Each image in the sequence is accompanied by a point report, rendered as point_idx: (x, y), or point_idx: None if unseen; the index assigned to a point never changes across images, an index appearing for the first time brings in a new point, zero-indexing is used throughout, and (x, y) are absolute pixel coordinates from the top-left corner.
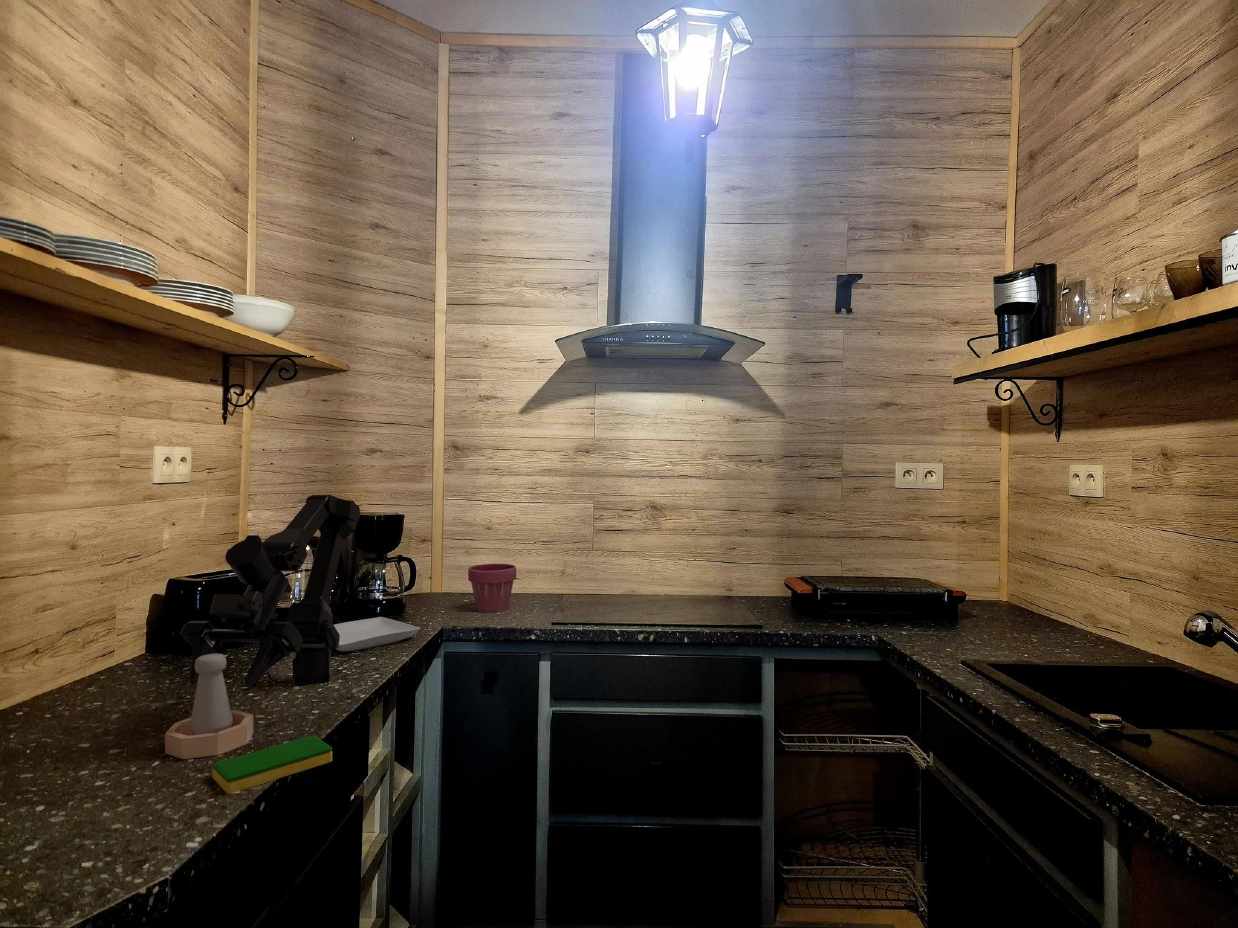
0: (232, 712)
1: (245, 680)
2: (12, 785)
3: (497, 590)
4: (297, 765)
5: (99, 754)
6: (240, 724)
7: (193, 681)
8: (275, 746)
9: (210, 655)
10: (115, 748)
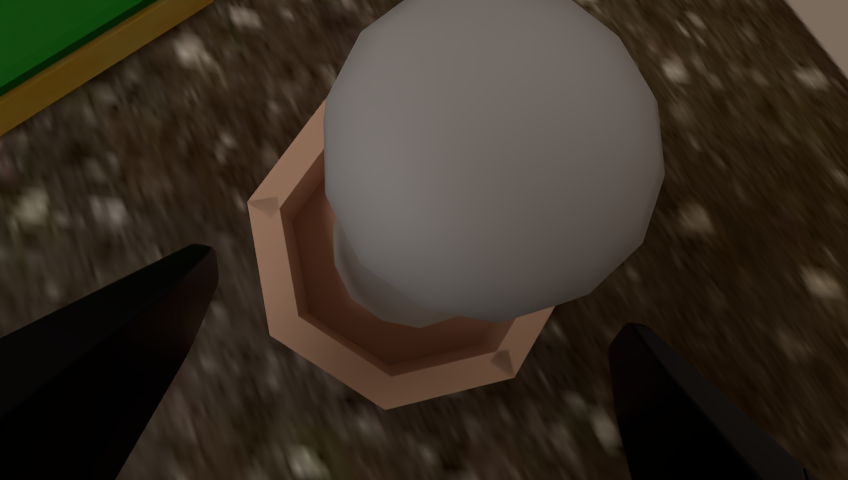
0: (385, 376)
1: (204, 253)
2: (796, 19)
3: None
4: None
5: (722, 196)
6: (275, 206)
7: (623, 333)
8: (67, 25)
9: (515, 111)
10: (706, 240)
